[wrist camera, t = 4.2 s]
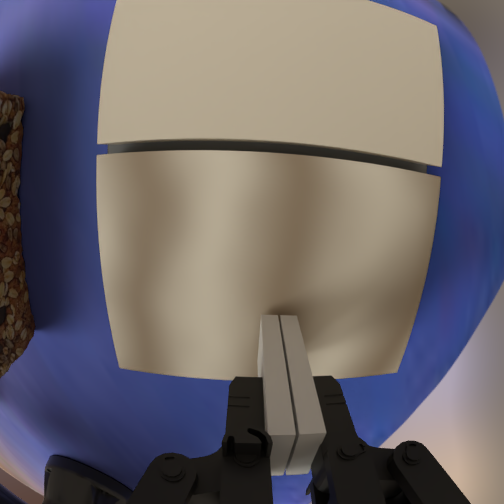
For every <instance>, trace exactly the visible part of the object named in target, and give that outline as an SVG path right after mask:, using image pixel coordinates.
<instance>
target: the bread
mask: <svg viewBox="0 0 504 504" xmlns="http://www.w3.org/2000/svg"><path fill="white" fill-rule="evenodd" d="M24 109H25V106H24V97H19V96H18V95H11V94H6V93H4V92H2V91H0V378H1V377H2V376H3V375H4V374H5V373H6V372H8V370H9V368H10V366H11V364H12V363H13V362H14V361H15V360H17V359H18V358H19V357H20V356H21V355H22V354H23V352H24V351H25V349H26V348H27V346H28V344H29V342H30V340H31V339H32V337H33V336H34V330H35V323H34V318H33V315H32V314H31V309H30V303H29V297H28V287H27V284H26V281H25V262H24V259H23V257H22V251H23V249H22V245H21V239H22V236H21V231H20V228H21V218H20V201H19V198H18V197H17V192H18V188H19V185H20V166H21V156H22V137H23V126H22V123H21V118H22V116H23V113H24Z"/></svg>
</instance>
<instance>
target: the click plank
mask: <svg viewBox="0 0 504 504" xmlns="http://www.w3.org/2000/svg"><path fill="white" fill-rule="evenodd" d="M440 181H441V177H439V176H434V175H430V174H425V173H420V172H415V171H410V170H405V169H400V168H394V167H389V166H383V165H377V164H371V163H364V162H357V161H350V160H342V159H334V158H326V157H317V156H307V155H296V154H283V153H269V152H250V151H220V150H176V151H146V152H128V153H114V154H102V155H97V172H96V189H97V220H98V236H99V249H100V259H101V268H102V277H103V284H104V291H105V298H106V304H107V310H108V316H109V322H110V327H111V332H112V337H113V342H114V346H115V351H116V355H117V359H118V363H119V367H120V368H123V369H129V370H135V371H141V372H148V373H156V374H163V375H172V376H181V377H191V378H203V379H218V380H234V378H235V377H236V376H240V377H258V364H257V360H258V347H259V335H260V322H261V315H278V319H279V321H280V315H297V318H298V322H299V326H300V330H301V333H302V337H303V341H304V345H305V349H306V352H307V356H308V360H309V364H310V368H311V372H312V376H329V375H332V376H333V377H334V379H342V378H354V377H364V376H373V375H381V374H389V373H396V372H397V371H398V368H399V366H400V363H401V360H402V357H403V355H404V352H405V349H406V346H407V343H408V340H409V337H410V334H411V331H412V327H413V324H414V321H415V317H416V314H417V310H418V307H419V303H420V299H421V295H422V291H423V287H424V283H425V279H426V275H427V270H428V265H429V260H430V255H431V250H432V244H433V239H434V232H435V226H436V219H437V211H438V202H439V193H440Z"/></svg>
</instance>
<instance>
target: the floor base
mask: <svg viewBox="0 0 504 504" xmlns="http://www.w3.org/2000/svg"><path fill="white" fill-rule="evenodd" d="M443 134H444V96H443V76H442V63H441V53H440V45H439V38H438V31H437V26H435V25H433V24H431V23H429V22H427V21H424V20H422V19H420V18H417V17H415V16H412V15H410V14H407V13H404V12H402V11H399V10H396V9H393V8H391V7H388V6H385V5H381V4H378V3H375V2H372V1H368V0H117V1H116V5H115V9H114V14H113V18H112V22H111V27H110V32H109V37H108V42H107V48H106V54H105V60H104V67H103V75H102V83H101V92H100V103H99V116H98V136H97V144H108V154H114V153H128V152H146V151H176V150H220V151H250V152H269V153H283V154H296V155H307V156H317V157H326V158H334V159H342V160H350V161H357V162H364V163H371V164H377V165H383V166H389V167H394V168H400V169H405V170H410V171H415V172H420V173H425V174H426V171H427V165H431V166H438V167H442V155H443Z"/></svg>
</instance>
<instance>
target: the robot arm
mask: <svg viewBox="0 0 504 504" xmlns="http://www.w3.org/2000/svg"><path fill="white" fill-rule="evenodd" d="M257 364H258V377H240V376H236V377H235V378H234V380H233V381H232V382H231V384H230V385H229V396H228V408H227V420H226V433H225V435H224V437H223V440H222V447H221V448H220V449H219V450H218V451H217V452H215V453H213V454H211V455H208V456H205V457H199V458H192V459H189V458H188V457H186V456H184V455H182V454H177V453H165V454H162V455H160V456H158V457H156V458H155V459H154V460H153V461H152V462H151V463H150V465H149V467H148V468H147V470H146V472H145V473H144V475H143V477H142V478H141V480H140V482H139V483H138V485H137V486H136V488H135V490H134V491H133V492H132V491H131V490H129V489H128V488H127V487H125V486H124V485H122V484H120V483H119V482H117V481H115V480H114V479H112V478H110V477H108V476H106V475H104V474H102V473H100V472H98V471H96V470H94V469H92V468H90V467H88V466H85V465H83V464H81V463H78V462H76V461H73V460H71V459H68V458H64V457H61V456H50V458H49V460H48V462H47V464H46V466H45V478H44V500H43V503H42V504H273V495H272V480H271V476H274V475H283V474H284V471H285V468H286V475H297V474H308V473H309V471H310V468H311V471H312V477H313V478H312V480H311V482H310V484H309V486H308V488H307V489H306V495H309V493H310V492H311V499H312V504H471V503H470V502H469V501H468V499H467V498H466V497H465V496H464V495H463V493H462V492H461V491H460V489H459V488H458V487H457V485H456V484H455V483H454V481H453V480H452V479H451V478H450V476H449V475H448V474H447V473H446V471H445V470H444V469H443V468H442V466H441V465H440V464H439V463H438V461H437V460H436V459H435V458H434V456H433V455H432V454H431V453H430V451H429V450H428V449H427V448H426V447H425V446H424V445H423V444H422V443H419V442H416V441H406V442H402V443H401V444H400V445H398V446H397V447H396V448H395V449H386V448H376V447H371V446H369V445H367V444H366V442H364V441H363V440H362V439H361V438H359V437H358V436H357V434H356V431H355V428H354V425H353V422H352V419H351V416H350V413H349V410H348V407H347V404H346V401H345V398H344V396H343V392H342V389H341V386H340V384H339V383H338V382H337V381H336V380H335V379H334V377H333V376H332V375H329V376H312V372H311V368H310V364H309V360H308V356H307V352H306V349H305V345H304V341H303V337H302V333H301V330H300V326H299V322H298V318H297V315H280V321H279V319H278V315H261V322H260V335H259V347H258V360H257ZM0 504H28V503H26V502H25V501H23V500H22V499H20V498H19V497H17V496H16V495H15V494H13V493H12V492H11V491H9V490H8V489H7V488H5V487H4V486H3V485H2V484H0Z"/></svg>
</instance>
